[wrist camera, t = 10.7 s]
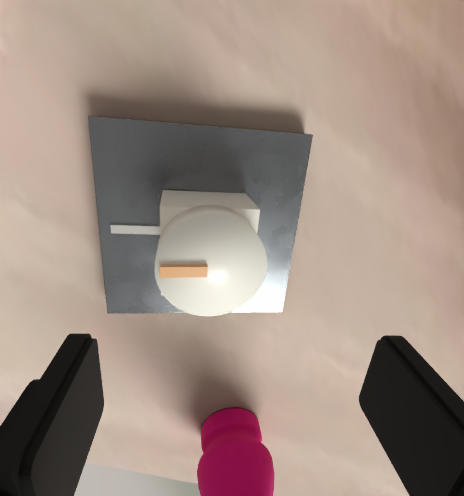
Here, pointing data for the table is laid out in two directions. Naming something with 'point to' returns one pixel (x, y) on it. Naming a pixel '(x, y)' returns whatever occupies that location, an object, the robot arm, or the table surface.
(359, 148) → the table surface
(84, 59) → the table surface
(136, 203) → the grey thin square slab
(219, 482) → the pepper mill
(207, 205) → the knob
